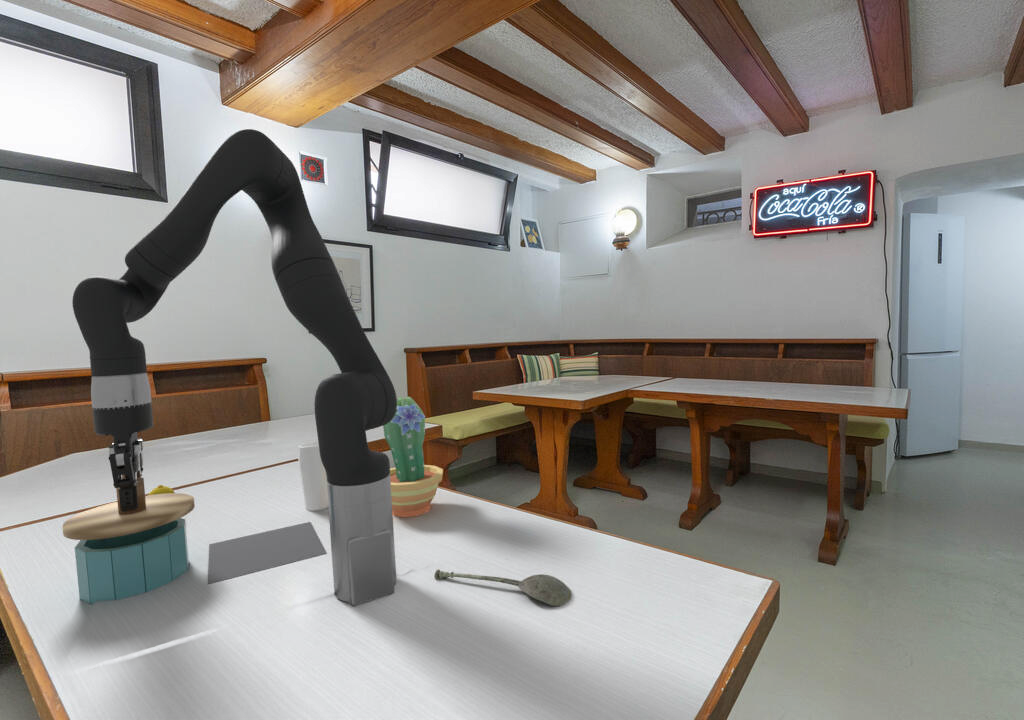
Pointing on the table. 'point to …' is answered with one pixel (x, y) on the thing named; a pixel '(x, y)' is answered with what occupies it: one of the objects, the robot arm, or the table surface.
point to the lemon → (161, 490)
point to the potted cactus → (410, 461)
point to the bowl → (131, 562)
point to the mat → (262, 551)
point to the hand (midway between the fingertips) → (131, 505)
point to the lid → (128, 516)
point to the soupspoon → (526, 586)
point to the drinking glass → (313, 476)
